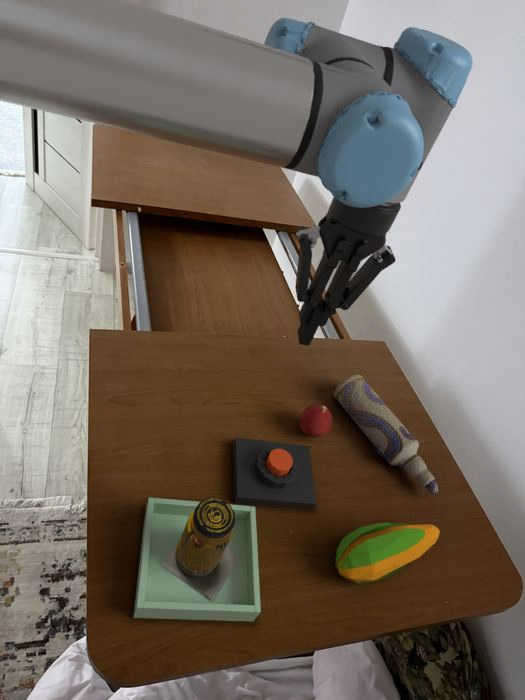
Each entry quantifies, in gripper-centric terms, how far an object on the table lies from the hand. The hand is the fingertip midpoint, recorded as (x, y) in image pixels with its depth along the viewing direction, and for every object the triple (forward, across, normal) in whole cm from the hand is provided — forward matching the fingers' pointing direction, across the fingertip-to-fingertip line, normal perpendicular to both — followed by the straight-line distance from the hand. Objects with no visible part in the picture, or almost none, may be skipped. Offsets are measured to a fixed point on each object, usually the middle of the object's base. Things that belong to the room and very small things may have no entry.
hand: (303, 338), depth 73 cm
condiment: (+24, -9, -23) cm, 34 cm away
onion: (+25, +10, +2) cm, 27 cm away
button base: (+24, +2, -8) cm, 26 cm away
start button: (+21, +2, -8) cm, 22 cm away
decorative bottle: (+25, +23, +2) cm, 34 cm away
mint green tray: (+24, -10, -23) cm, 35 cm away
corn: (+25, +19, -20) cm, 37 cm away
